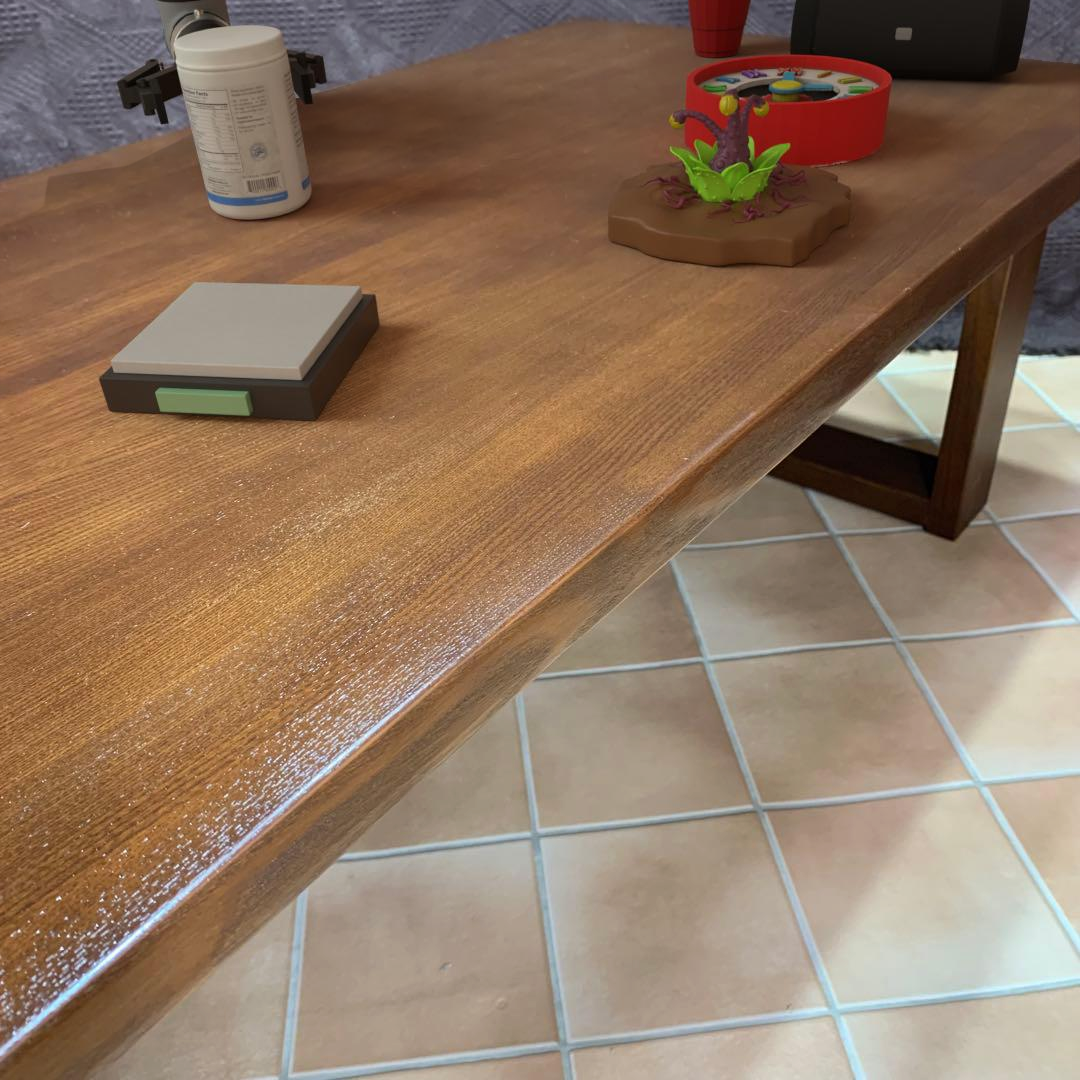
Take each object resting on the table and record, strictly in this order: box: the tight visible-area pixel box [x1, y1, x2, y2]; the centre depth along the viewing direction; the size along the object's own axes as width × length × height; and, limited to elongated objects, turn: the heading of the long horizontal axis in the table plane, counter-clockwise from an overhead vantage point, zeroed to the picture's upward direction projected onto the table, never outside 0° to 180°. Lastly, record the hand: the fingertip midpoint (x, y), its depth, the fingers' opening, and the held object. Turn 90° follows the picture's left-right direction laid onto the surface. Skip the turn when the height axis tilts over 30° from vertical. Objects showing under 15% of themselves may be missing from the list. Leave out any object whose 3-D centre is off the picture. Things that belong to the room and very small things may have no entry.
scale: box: [98, 281, 381, 421], centre depth 72 cm, size 14×15×3 cm
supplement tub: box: [173, 24, 312, 221], centre depth 97 cm, size 10×10×15 cm
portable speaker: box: [789, 0, 1031, 81], centre depth 126 cm, size 26×10×10 cm, turn 70°
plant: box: [607, 88, 852, 268], centre depth 88 cm, size 20×20×11 cm
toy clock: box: [684, 54, 893, 168], centre depth 109 cm, size 20×6×20 cm
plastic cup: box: [687, 0, 752, 58], centre depth 139 cm, size 11×11×12 cm
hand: (235, 99), depth 102 cm, fingers open, 13 cm apart
